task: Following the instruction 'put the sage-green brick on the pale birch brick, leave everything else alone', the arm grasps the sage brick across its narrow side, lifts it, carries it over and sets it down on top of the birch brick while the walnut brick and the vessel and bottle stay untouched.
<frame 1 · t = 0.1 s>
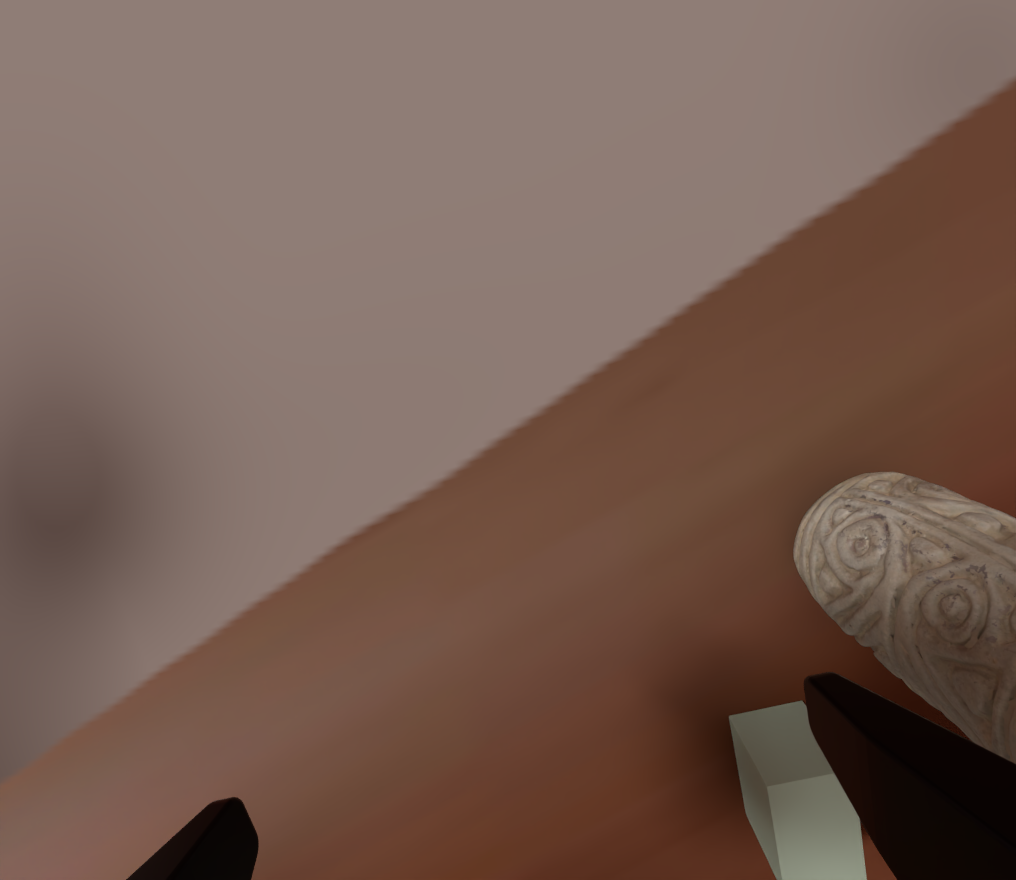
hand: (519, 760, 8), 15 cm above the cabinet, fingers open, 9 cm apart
sage brick: (771, 757, 26), on the cabinet
carving: (851, 535, 23), on the cabinet
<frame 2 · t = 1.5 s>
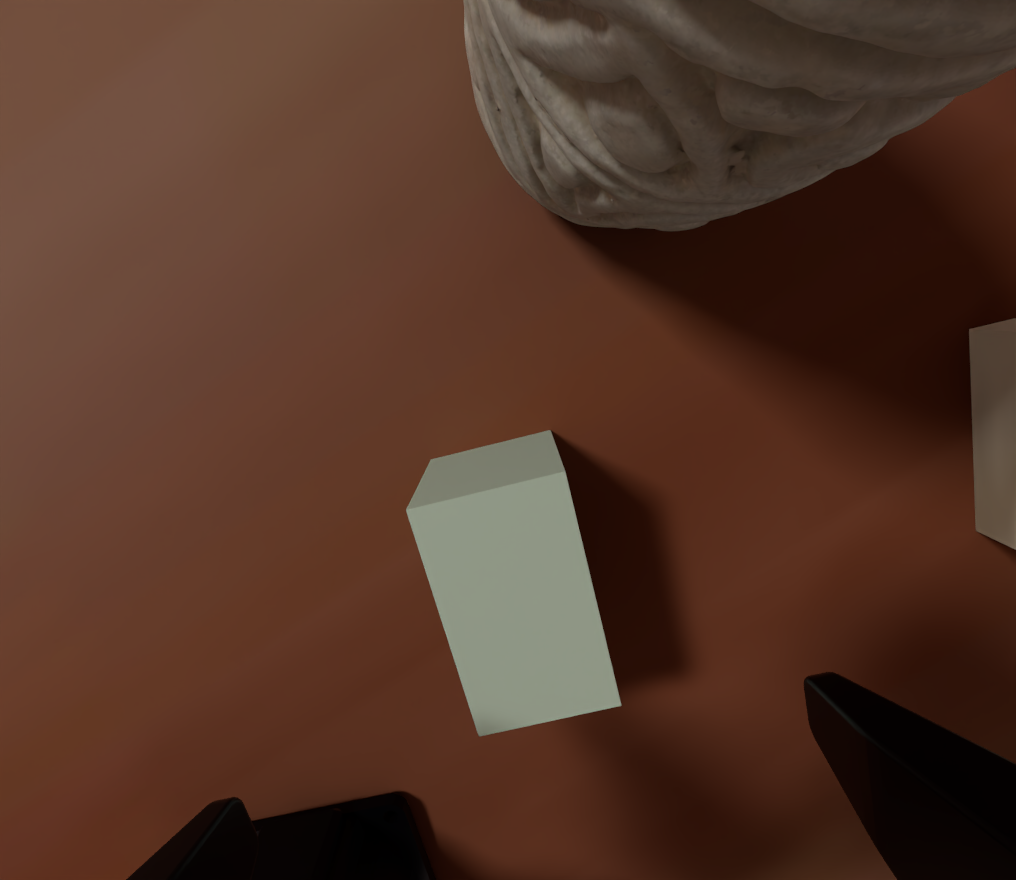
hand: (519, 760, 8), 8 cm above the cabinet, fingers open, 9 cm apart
sage brick: (516, 538, 16), on the cabinet
carving: (605, 101, 13), on the cabinet
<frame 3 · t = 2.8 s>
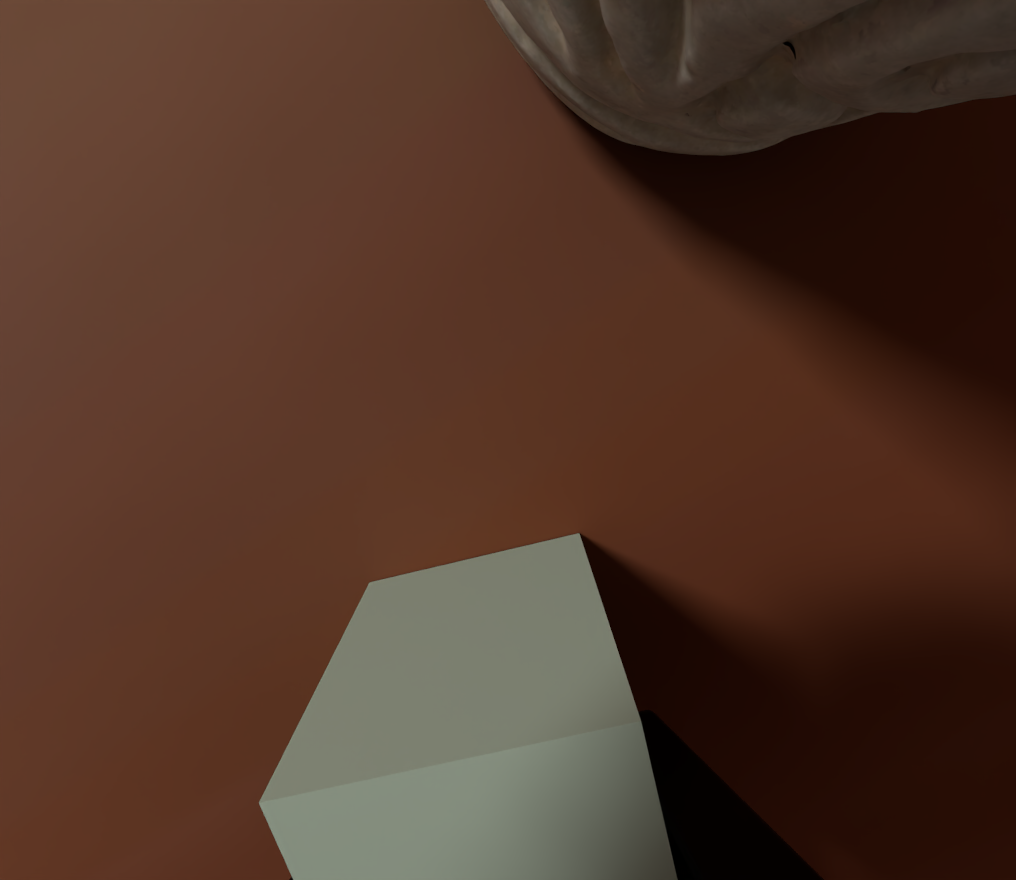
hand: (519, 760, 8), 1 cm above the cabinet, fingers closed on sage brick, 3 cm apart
sage brick: (518, 711, 9), on the cabinet, touching gripper
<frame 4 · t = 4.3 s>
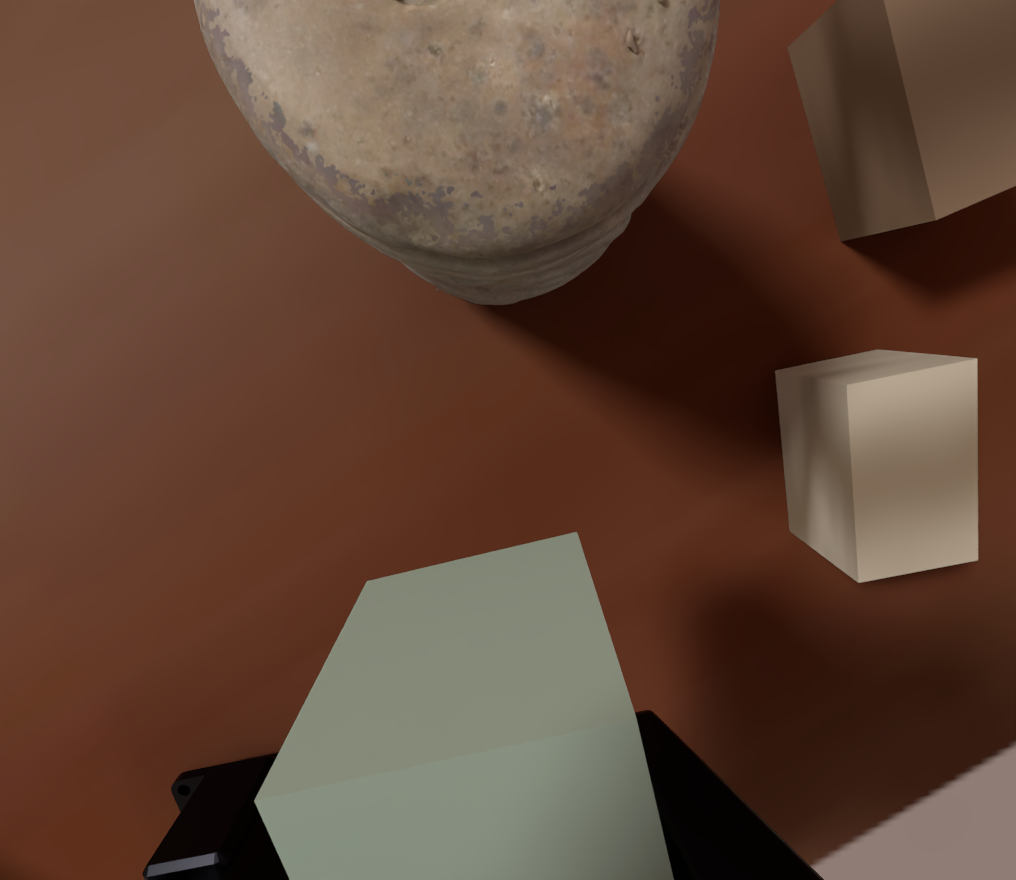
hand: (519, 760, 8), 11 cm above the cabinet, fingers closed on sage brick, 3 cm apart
birch brick: (830, 443, 19), on the cabinet
sage brick: (515, 710, 9), point 10 cm above the cabinet, touching gripper
carving: (483, 190, 17), on the cabinet
walnut brick: (867, 125, 17), on the cabinet
when the fingers open (6 cm above the cabinet, at t = 6.1 s): sage brick drops 1 cm, resting on birch brick.
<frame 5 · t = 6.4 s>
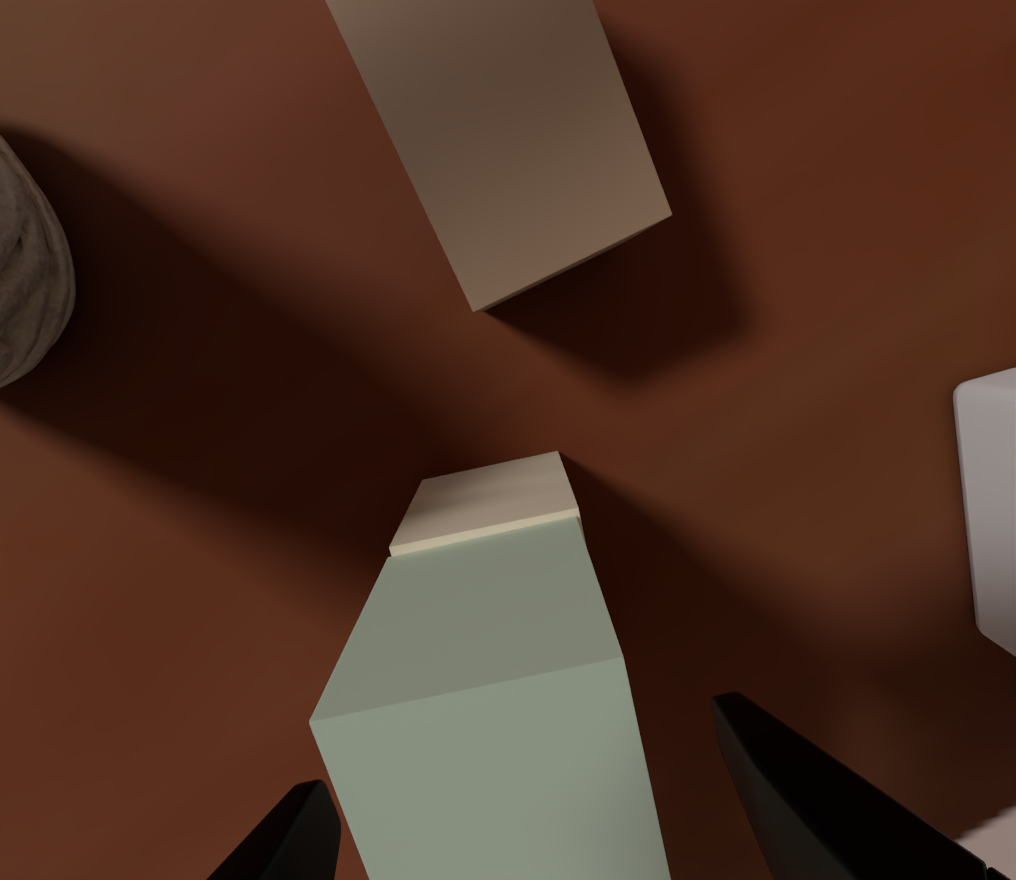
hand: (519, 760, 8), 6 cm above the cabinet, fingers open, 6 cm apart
birch brick: (515, 570, 14), on the cabinet, touching sage brick
sage brick: (518, 676, 10), point 4 cm above the cabinet, touching birch brick
walnut brick: (495, 151, 12), on the cabinet
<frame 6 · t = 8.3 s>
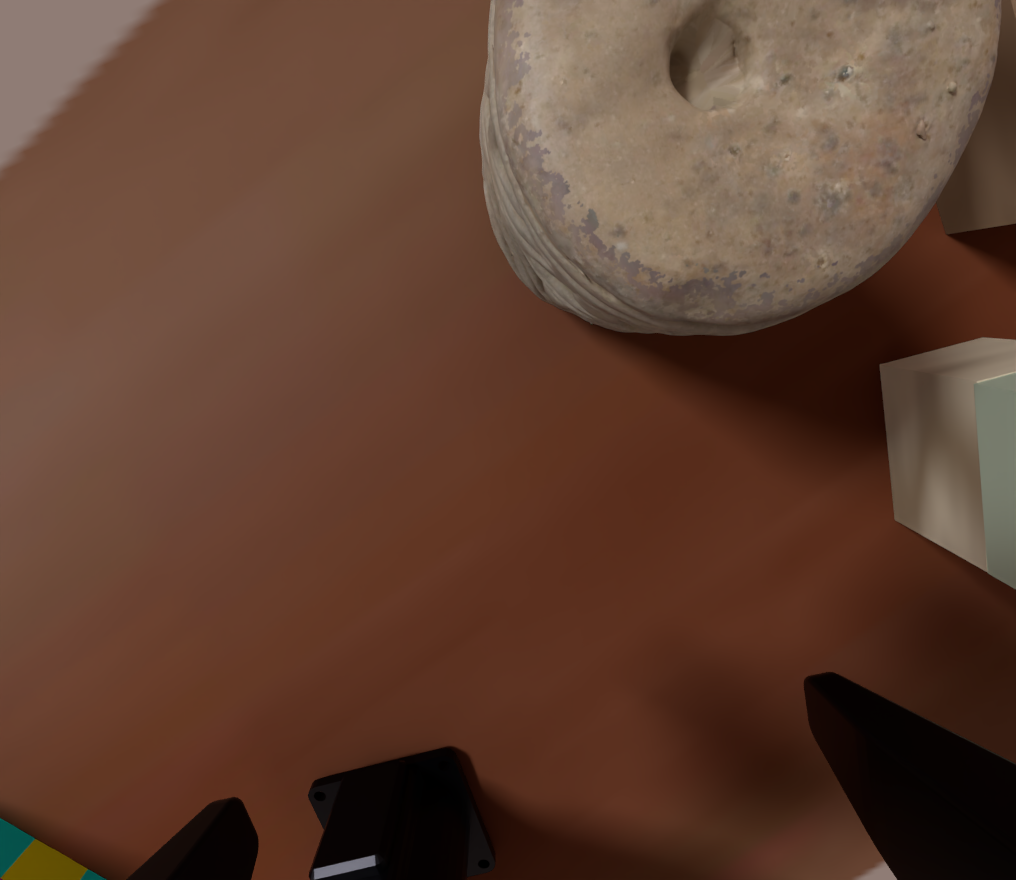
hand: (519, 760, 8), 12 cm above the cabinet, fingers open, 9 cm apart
birch brick: (936, 432, 19), on the cabinet, touching sage brick
carving: (588, 210, 17), on the cabinet
walnut brick: (969, 116, 17), on the cabinet
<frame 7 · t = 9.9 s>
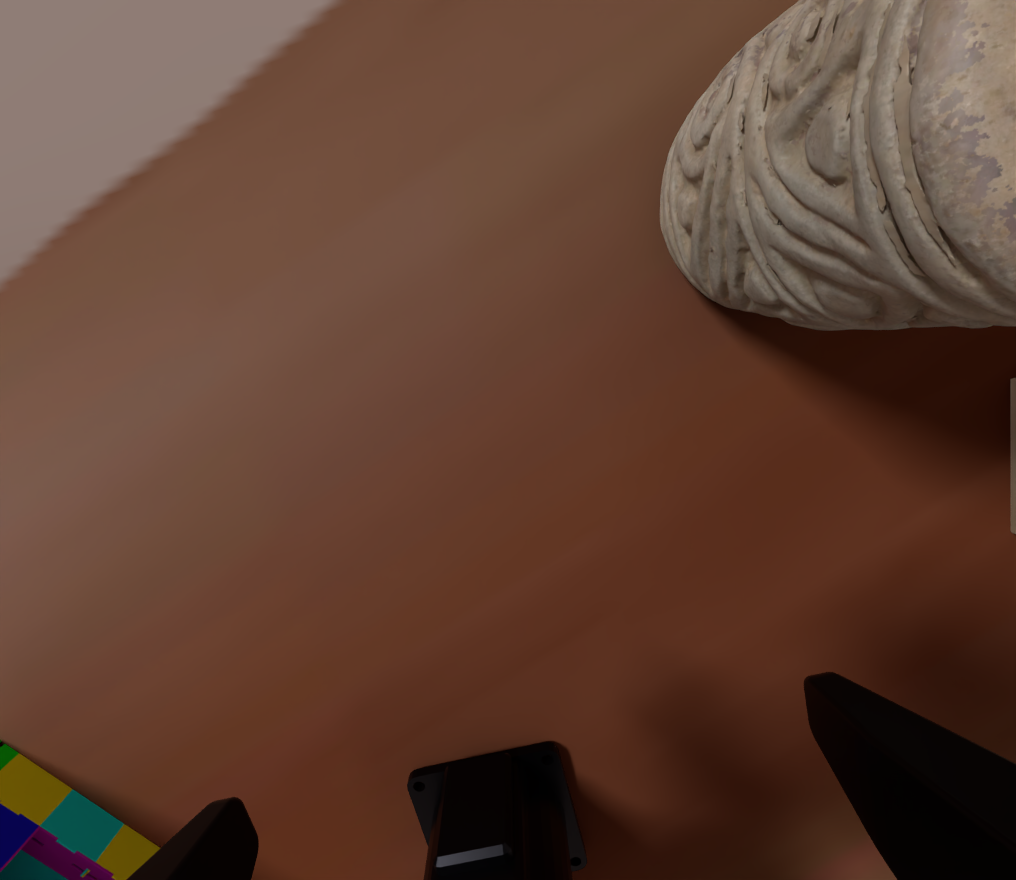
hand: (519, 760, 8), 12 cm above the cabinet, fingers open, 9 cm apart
carving: (743, 214, 18), on the cabinet
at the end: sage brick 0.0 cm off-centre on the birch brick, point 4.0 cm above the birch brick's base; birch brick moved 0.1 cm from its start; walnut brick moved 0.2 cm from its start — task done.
